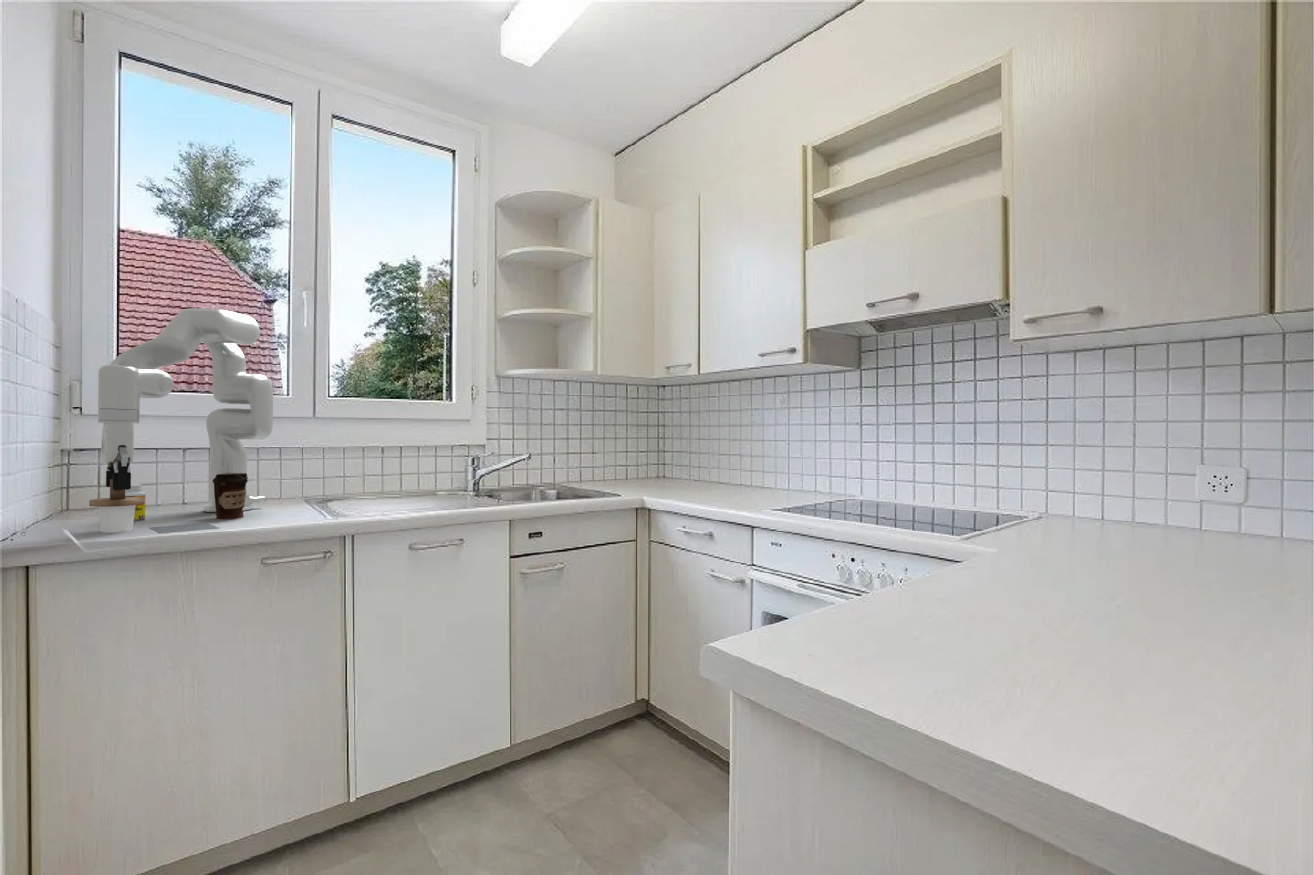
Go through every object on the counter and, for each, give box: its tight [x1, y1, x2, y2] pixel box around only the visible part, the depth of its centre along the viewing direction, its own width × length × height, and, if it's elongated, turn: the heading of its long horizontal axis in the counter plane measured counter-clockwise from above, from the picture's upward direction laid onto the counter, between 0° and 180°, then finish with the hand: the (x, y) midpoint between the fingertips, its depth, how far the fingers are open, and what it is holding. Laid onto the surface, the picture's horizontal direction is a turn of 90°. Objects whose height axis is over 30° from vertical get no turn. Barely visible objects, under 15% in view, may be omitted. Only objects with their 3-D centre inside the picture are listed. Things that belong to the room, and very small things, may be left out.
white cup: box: [97, 505, 136, 534], centre depth 148 cm, size 7×7×7 cm
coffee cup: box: [213, 473, 249, 520], centre depth 172 cm, size 9×8×13 cm
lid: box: [88, 479, 146, 508], centre depth 148 cm, size 10×10×6 cm
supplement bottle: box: [125, 483, 147, 523], centre depth 163 cm, size 6×6×10 cm
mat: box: [148, 522, 219, 535], centre depth 153 cm, size 12×12×1 cm
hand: (118, 488), depth 148 cm, fingers open, 9 cm apart
